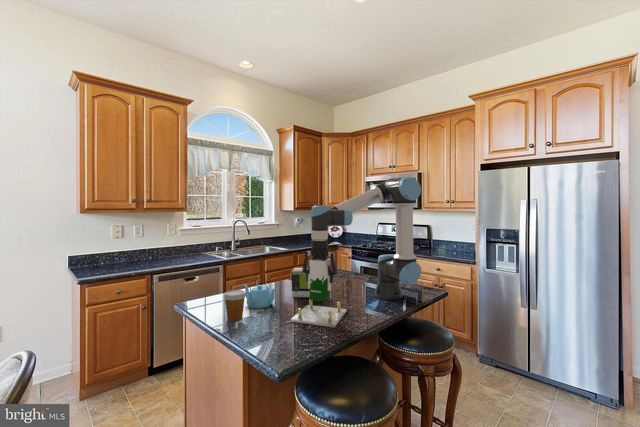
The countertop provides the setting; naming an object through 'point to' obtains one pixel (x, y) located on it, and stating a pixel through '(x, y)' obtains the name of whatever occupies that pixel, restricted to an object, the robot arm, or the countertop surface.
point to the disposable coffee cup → (234, 304)
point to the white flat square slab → (319, 315)
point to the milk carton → (319, 279)
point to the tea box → (299, 283)
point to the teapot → (259, 297)
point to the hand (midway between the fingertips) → (319, 289)
